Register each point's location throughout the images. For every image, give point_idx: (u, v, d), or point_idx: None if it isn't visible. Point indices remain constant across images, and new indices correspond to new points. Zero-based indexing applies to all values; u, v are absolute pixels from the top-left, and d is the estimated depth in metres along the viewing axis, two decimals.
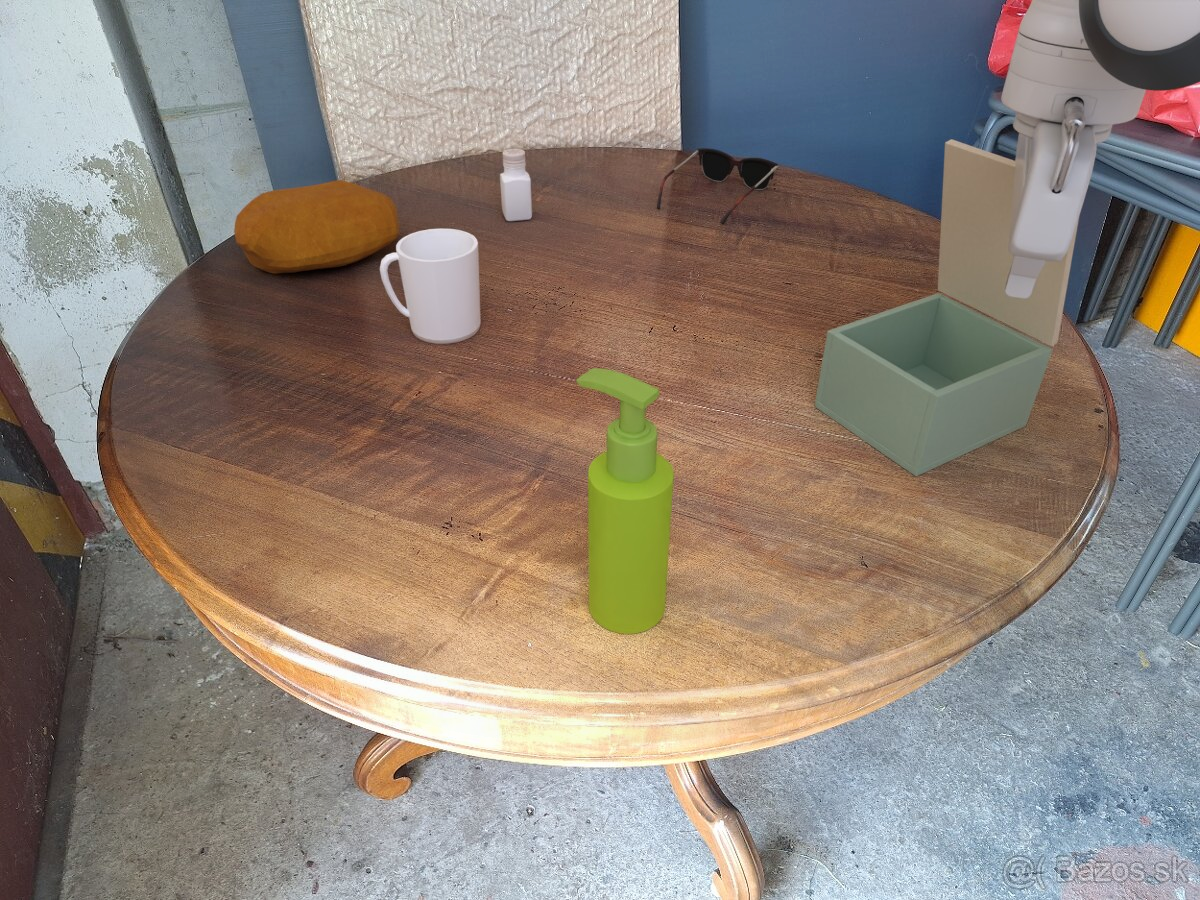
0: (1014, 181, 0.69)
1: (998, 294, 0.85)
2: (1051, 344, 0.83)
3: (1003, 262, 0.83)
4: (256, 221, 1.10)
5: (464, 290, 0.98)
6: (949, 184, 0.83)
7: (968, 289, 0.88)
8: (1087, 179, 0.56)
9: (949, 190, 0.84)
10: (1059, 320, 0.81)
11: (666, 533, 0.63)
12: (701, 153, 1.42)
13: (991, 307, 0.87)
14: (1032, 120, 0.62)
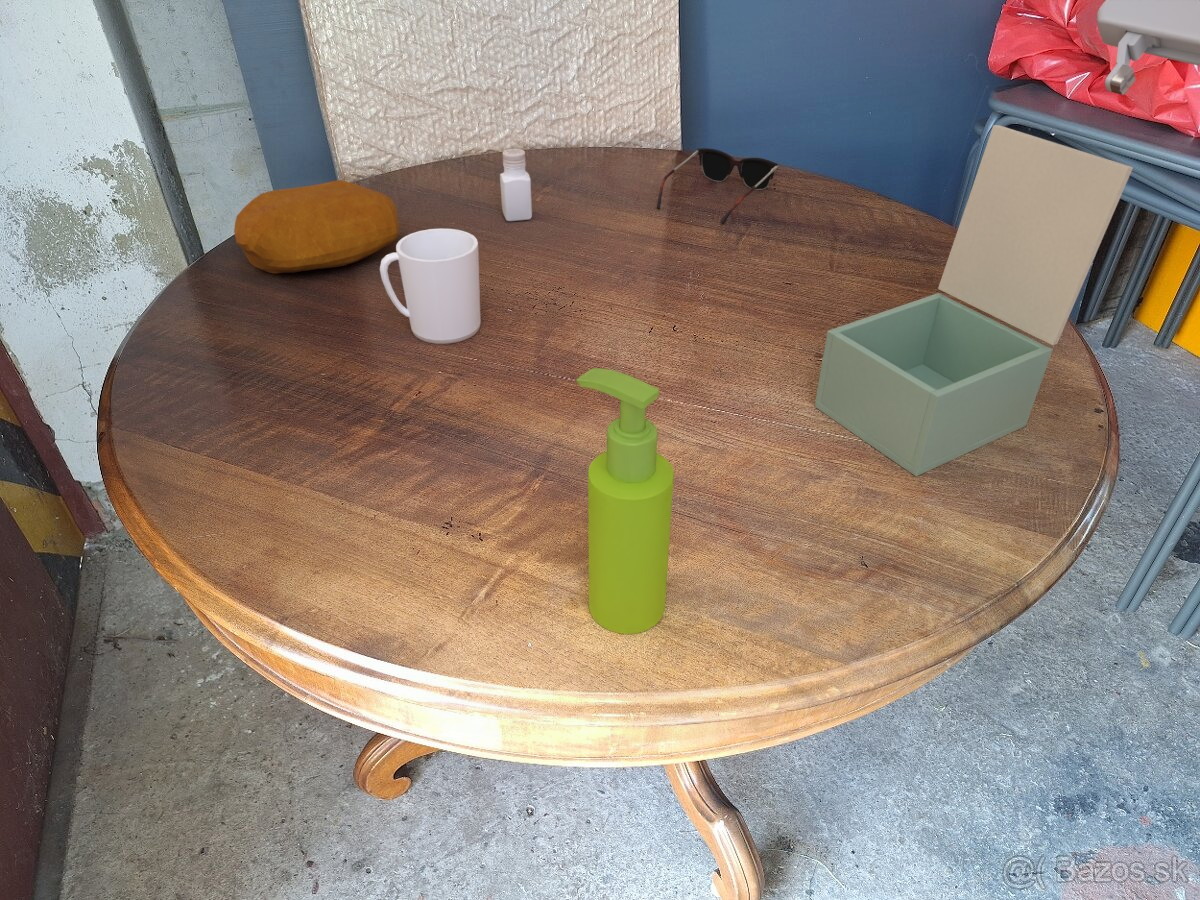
0: None
1: (1007, 289, 0.86)
2: (1052, 342, 0.83)
3: (1022, 253, 0.84)
4: (256, 221, 1.10)
5: (464, 290, 0.98)
6: (985, 170, 0.85)
7: (974, 285, 0.89)
8: None
9: (983, 176, 0.85)
10: (1067, 317, 0.82)
11: (666, 533, 0.63)
12: (701, 153, 1.42)
13: (994, 304, 0.87)
14: None
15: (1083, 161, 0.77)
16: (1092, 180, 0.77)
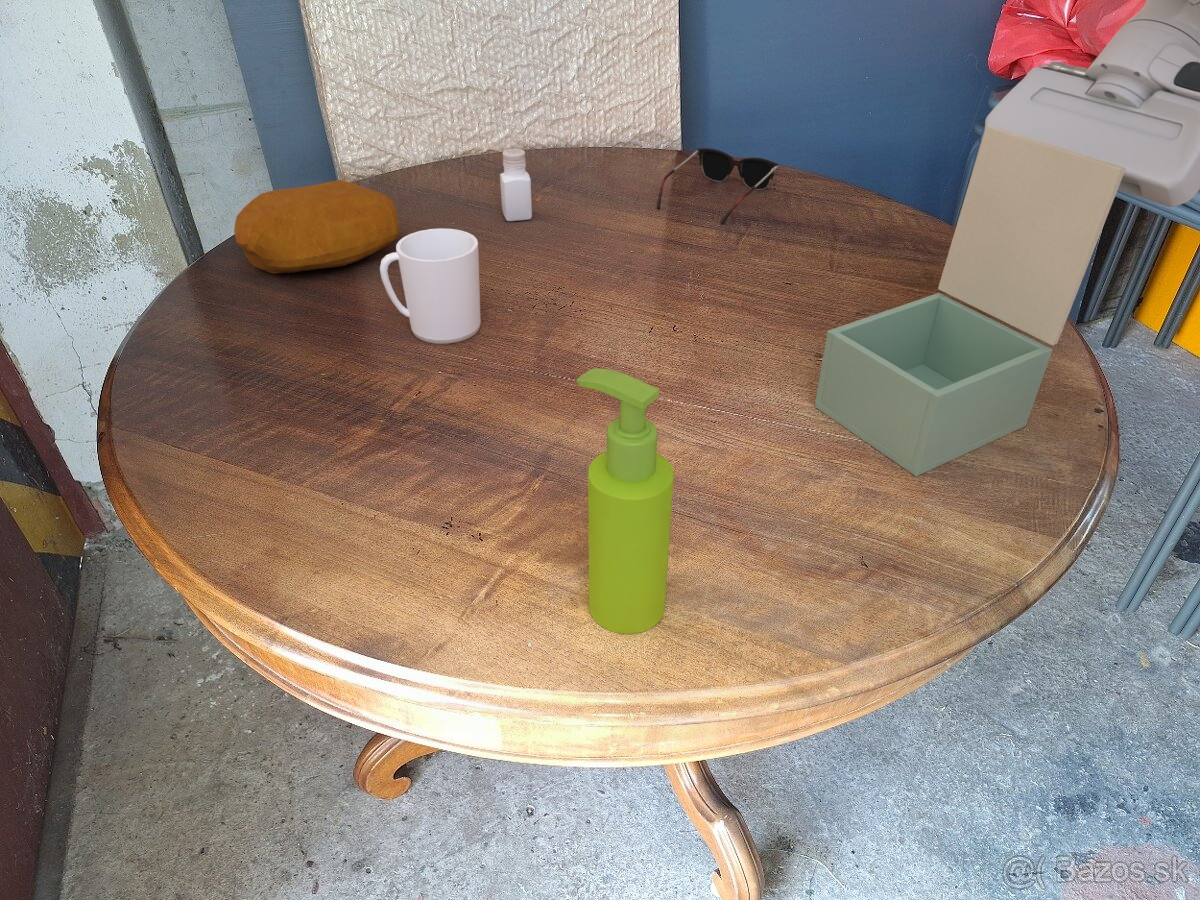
0: None
1: (1005, 290, 0.86)
2: (1052, 343, 0.83)
3: (1019, 253, 0.83)
4: (256, 221, 1.10)
5: (464, 290, 0.98)
6: (979, 171, 0.85)
7: (973, 286, 0.89)
8: None
9: (978, 177, 0.85)
10: (1066, 317, 0.82)
11: (666, 533, 0.63)
12: (701, 153, 1.42)
13: (994, 305, 0.87)
14: None
15: (1076, 162, 0.77)
16: (1086, 181, 0.76)
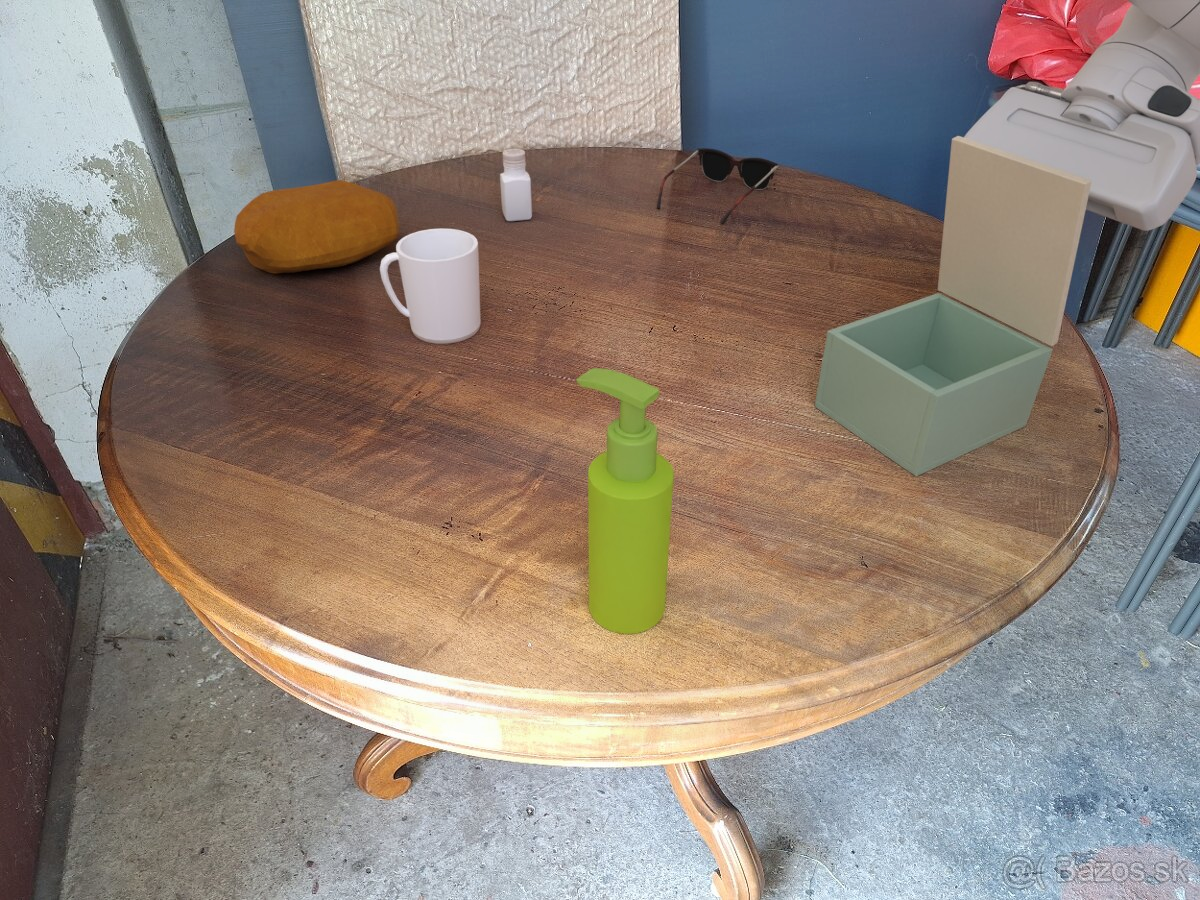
0: None
1: (999, 293, 0.85)
2: (1051, 344, 0.83)
3: (1006, 260, 0.83)
4: (256, 221, 1.10)
5: (464, 290, 0.98)
6: (954, 181, 0.83)
7: (969, 288, 0.88)
8: None
9: (954, 187, 0.84)
10: (1060, 319, 0.81)
11: (666, 533, 0.63)
12: (701, 153, 1.42)
13: (991, 307, 0.87)
14: None
15: (1042, 176, 0.75)
16: (1054, 195, 0.75)
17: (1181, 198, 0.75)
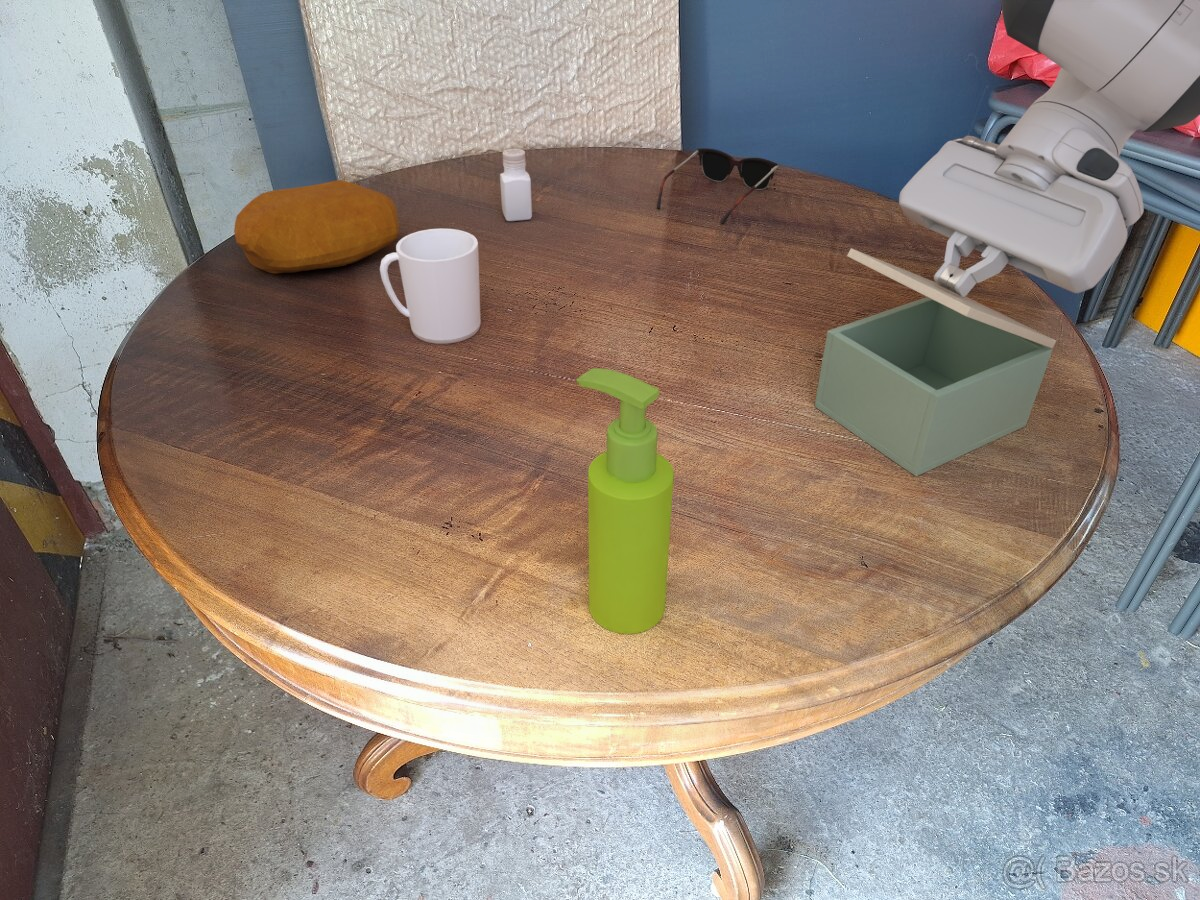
0: None
1: None
2: (1050, 347, 0.83)
3: None
4: (256, 221, 1.10)
5: (464, 290, 0.98)
6: None
7: None
8: None
9: None
10: (1042, 339, 0.81)
11: (666, 533, 0.63)
12: (701, 153, 1.42)
13: None
14: None
15: None
16: None
17: (1110, 261, 0.74)
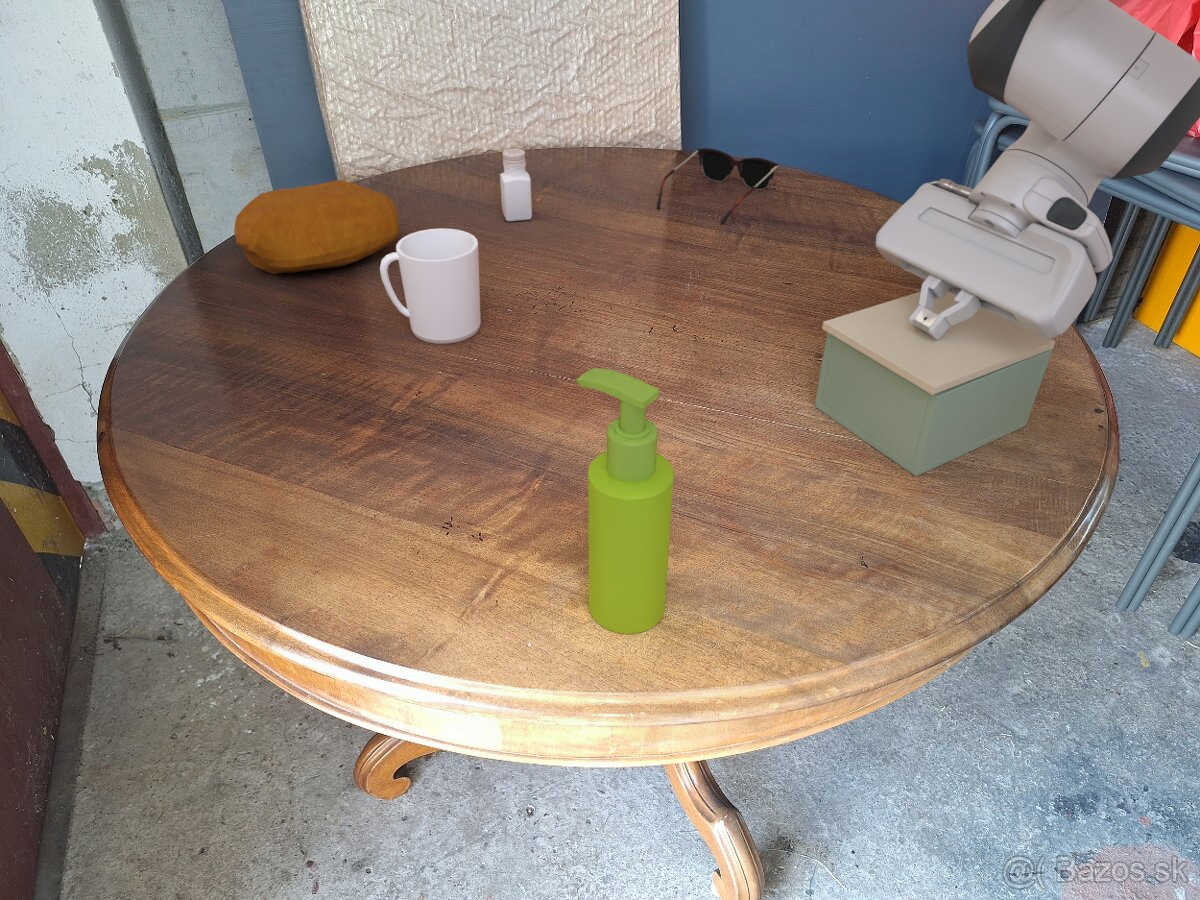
0: None
1: None
2: (1051, 348, 0.83)
3: None
4: (256, 221, 1.10)
5: (464, 290, 0.98)
6: None
7: None
8: (911, 197, 0.87)
9: None
10: (1035, 351, 0.82)
11: (666, 533, 0.63)
12: (701, 153, 1.42)
13: None
14: None
15: None
16: None
17: (1079, 308, 0.76)
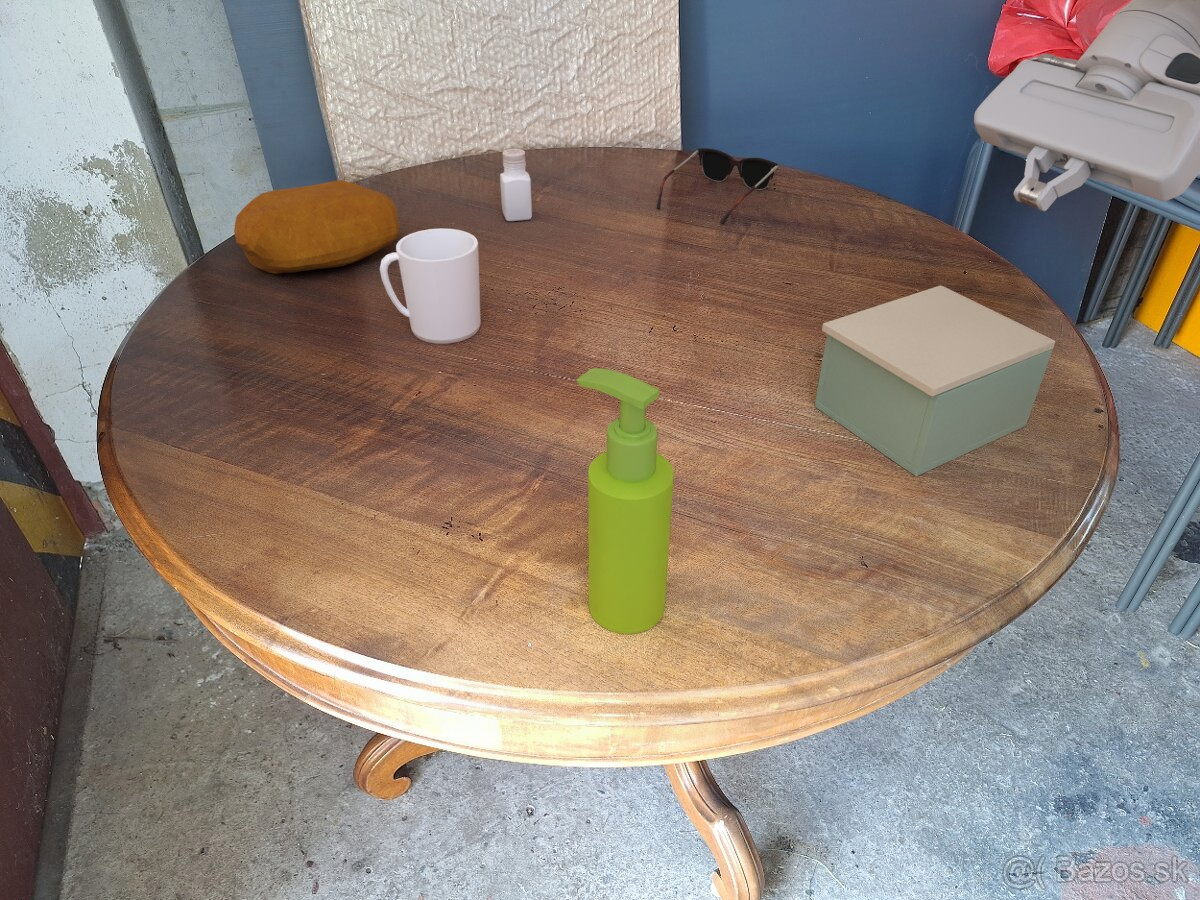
0: None
1: None
2: (1051, 348, 0.83)
3: None
4: (256, 221, 1.10)
5: (464, 290, 0.98)
6: None
7: None
8: None
9: None
10: (1035, 352, 0.82)
11: (666, 533, 0.63)
12: (701, 153, 1.42)
13: None
14: None
15: None
16: None
17: (1199, 168, 0.74)
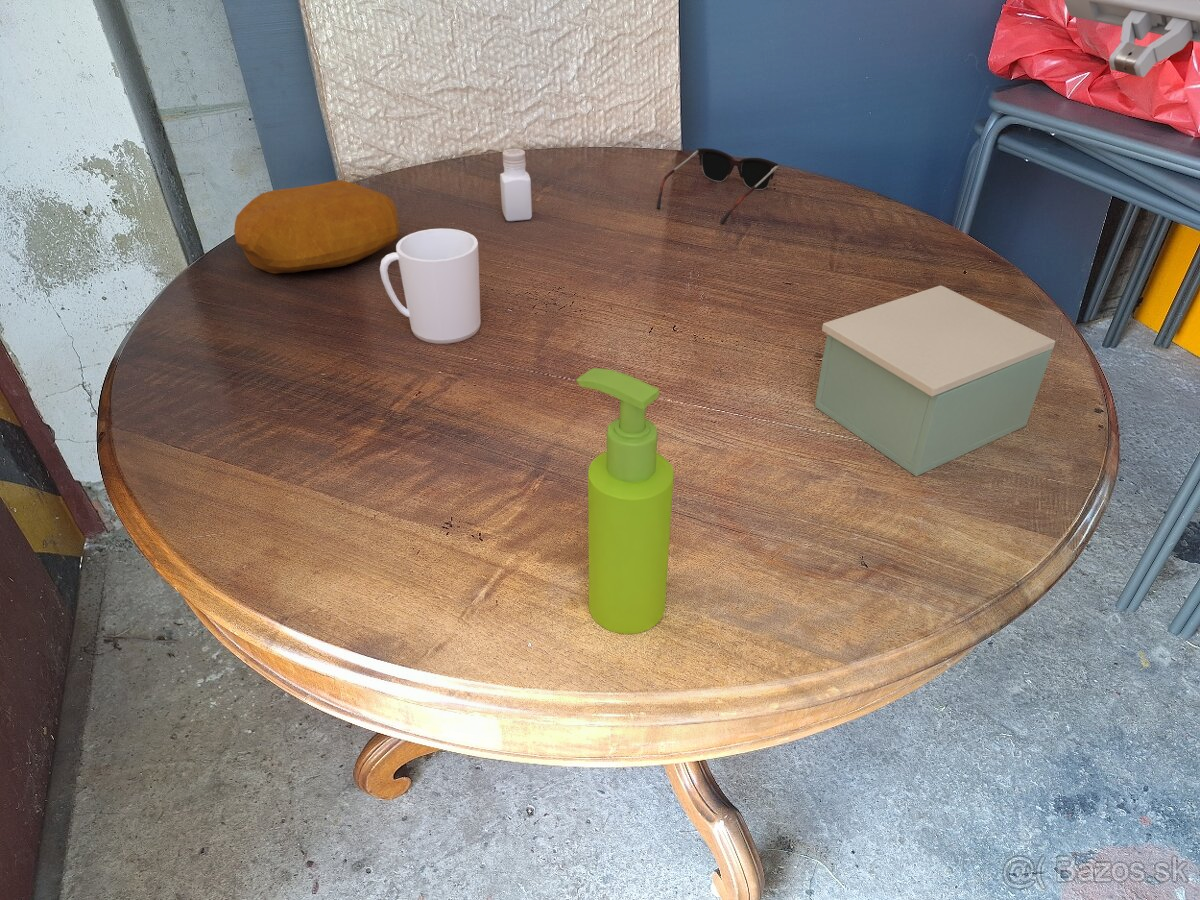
0: None
1: None
2: (1051, 348, 0.83)
3: None
4: (256, 221, 1.10)
5: (464, 290, 0.98)
6: None
7: None
8: None
9: None
10: (1035, 352, 0.82)
11: (666, 533, 0.63)
12: (701, 153, 1.42)
13: None
14: None
15: None
16: None
17: None
